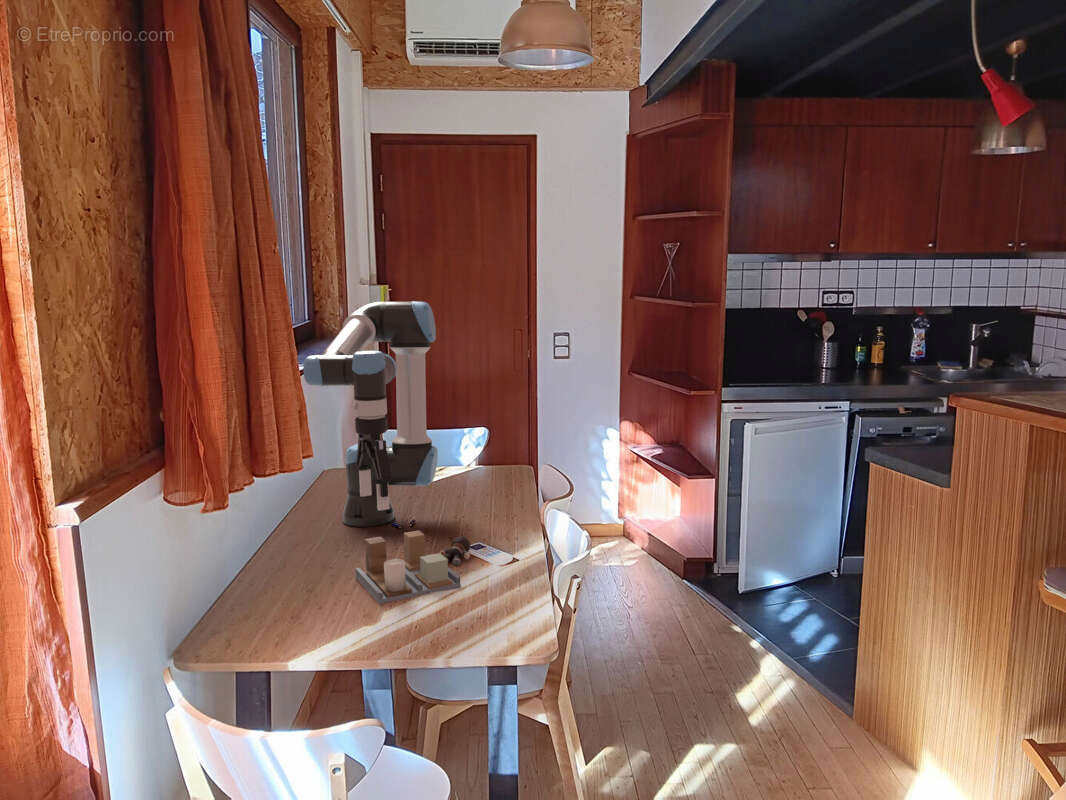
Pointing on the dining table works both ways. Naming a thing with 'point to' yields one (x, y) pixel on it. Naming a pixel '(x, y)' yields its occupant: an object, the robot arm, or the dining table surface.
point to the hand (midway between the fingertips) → (374, 502)
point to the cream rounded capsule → (394, 575)
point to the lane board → (411, 573)
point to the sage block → (434, 568)
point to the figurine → (457, 550)
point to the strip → (379, 565)
